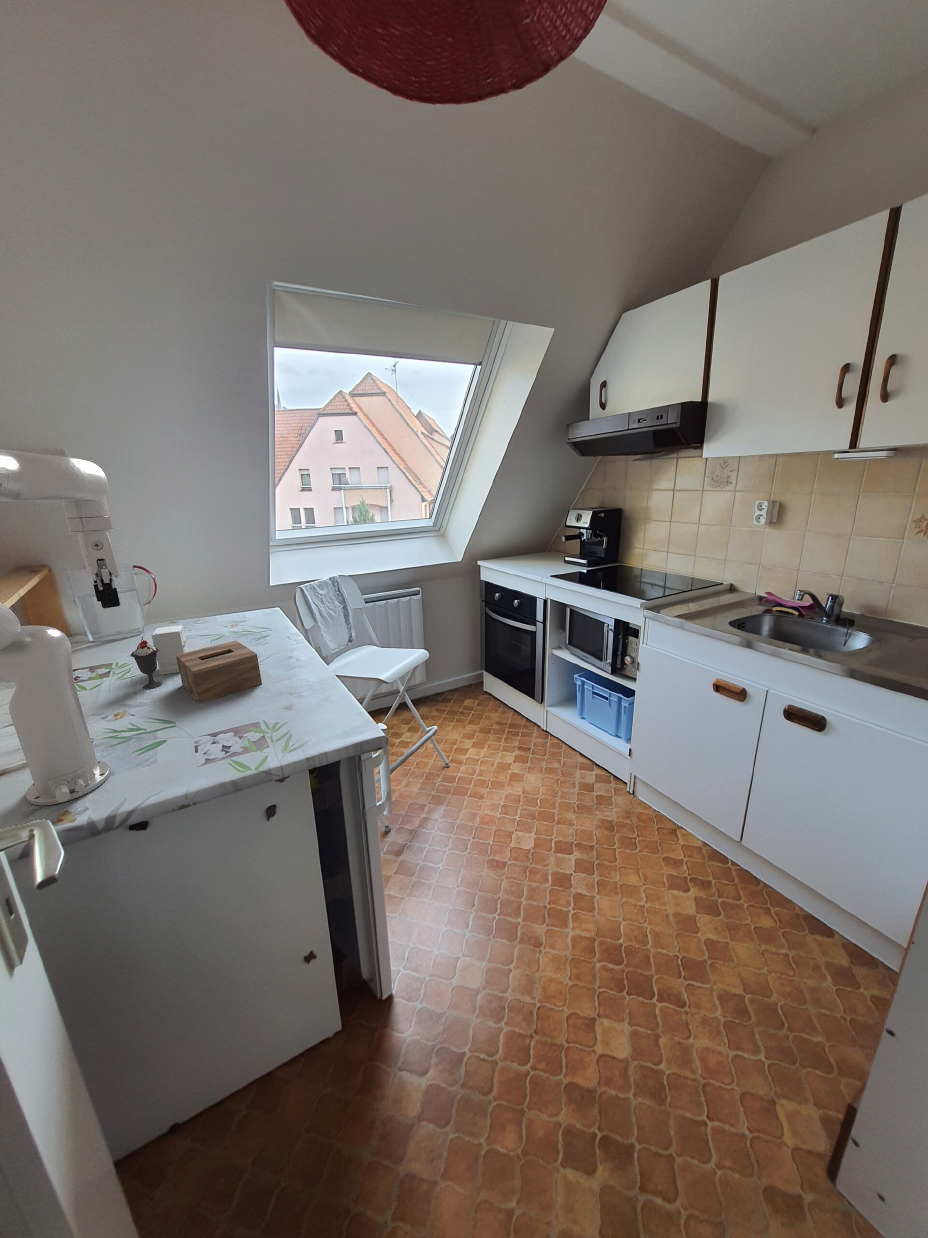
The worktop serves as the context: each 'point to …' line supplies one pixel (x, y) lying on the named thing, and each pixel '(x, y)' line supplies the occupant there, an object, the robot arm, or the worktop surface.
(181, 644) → the supplement box
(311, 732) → the worktop surface
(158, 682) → the sundae
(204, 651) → the brown slotted wooden box
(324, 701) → the worktop surface
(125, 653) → the worktop surface
